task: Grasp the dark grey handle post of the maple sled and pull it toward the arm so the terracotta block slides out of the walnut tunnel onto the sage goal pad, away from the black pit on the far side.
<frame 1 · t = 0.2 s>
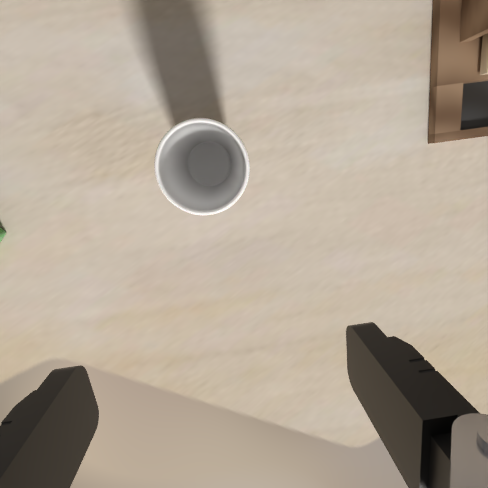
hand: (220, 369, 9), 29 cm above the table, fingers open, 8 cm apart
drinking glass: (210, 163, 36), on the table
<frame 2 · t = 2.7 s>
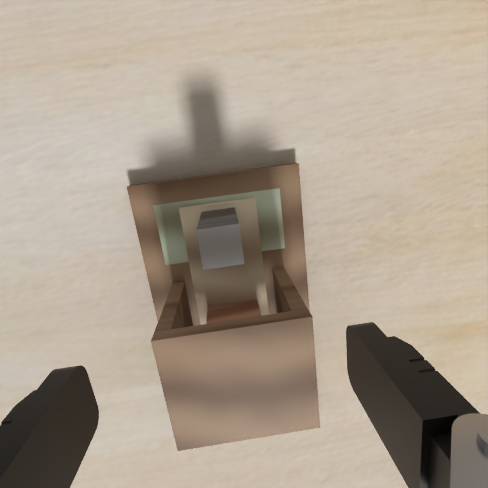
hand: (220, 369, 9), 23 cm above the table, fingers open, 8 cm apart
sled: (234, 323, 28), point 6 cm above the table, slide at 0.0 cm
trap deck: (234, 312, 34), on the table
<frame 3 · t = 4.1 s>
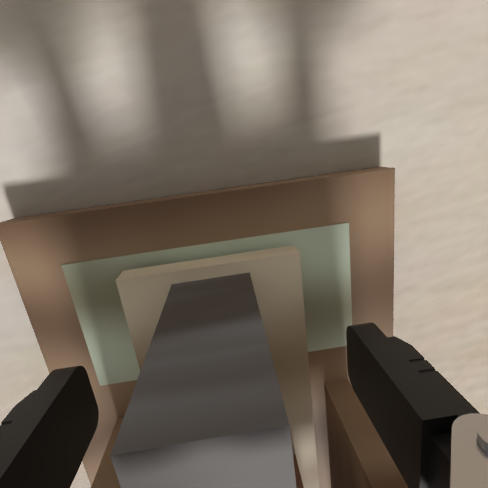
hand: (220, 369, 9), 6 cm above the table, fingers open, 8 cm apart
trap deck: (245, 453, 18), on the table
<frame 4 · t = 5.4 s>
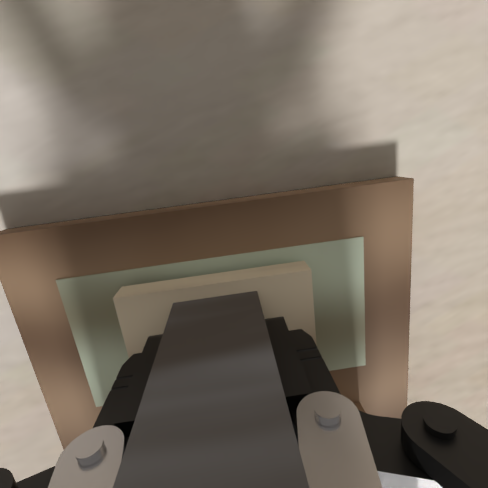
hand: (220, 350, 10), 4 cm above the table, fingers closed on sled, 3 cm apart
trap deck: (249, 475, 17), on the table
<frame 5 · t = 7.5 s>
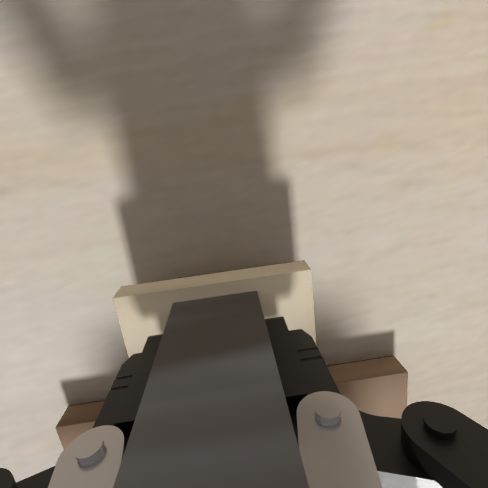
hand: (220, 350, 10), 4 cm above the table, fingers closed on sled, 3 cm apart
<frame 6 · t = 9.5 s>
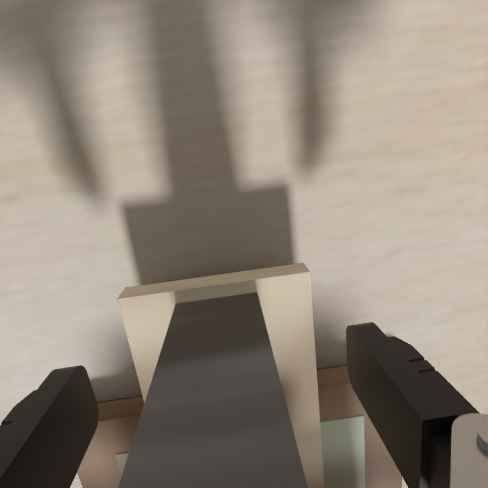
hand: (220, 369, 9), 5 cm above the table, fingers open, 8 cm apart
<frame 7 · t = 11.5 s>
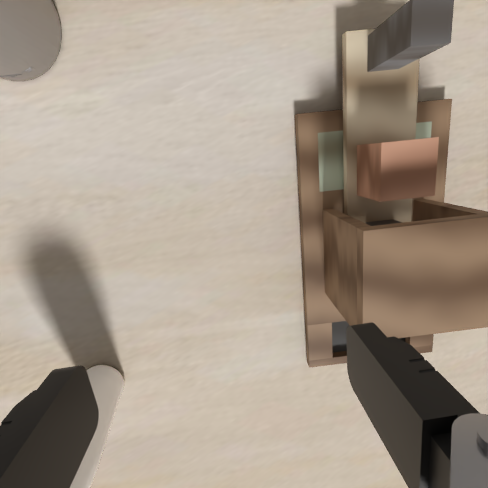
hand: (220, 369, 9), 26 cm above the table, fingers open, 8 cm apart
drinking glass: (104, 379, 39), on the table
sled: (397, 146, 28), point 6 cm above the table, slide at 8.9 cm
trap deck: (368, 244, 37), on the table
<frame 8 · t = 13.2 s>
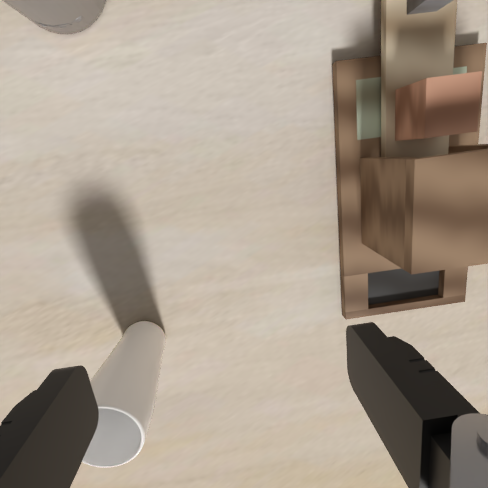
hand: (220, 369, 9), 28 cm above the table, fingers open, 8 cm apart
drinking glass: (146, 336, 40), on the table
sled: (438, 85, 29), point 6 cm above the table, slide at 8.9 cm
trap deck: (402, 194, 37), on the table
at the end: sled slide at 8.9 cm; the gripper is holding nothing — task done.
